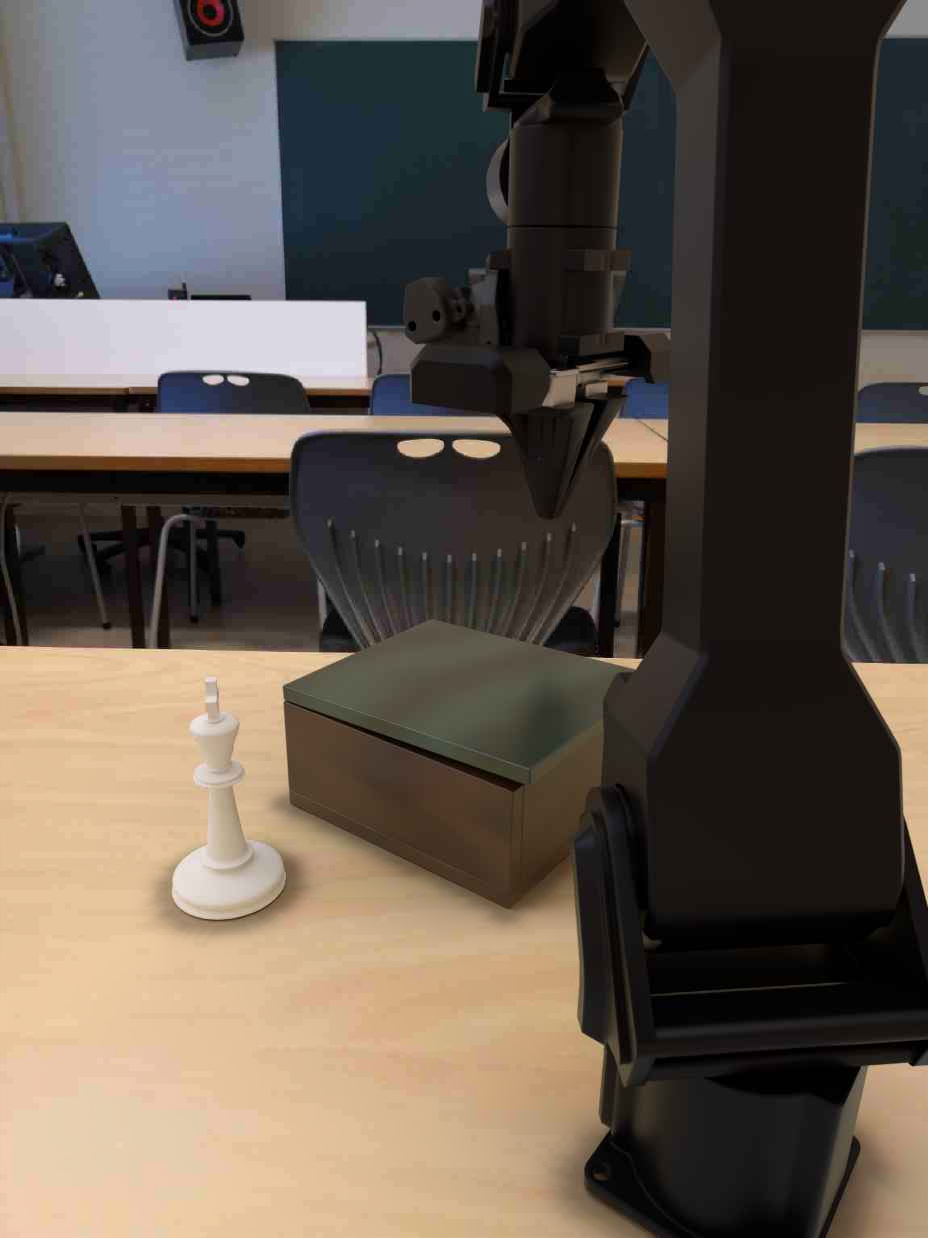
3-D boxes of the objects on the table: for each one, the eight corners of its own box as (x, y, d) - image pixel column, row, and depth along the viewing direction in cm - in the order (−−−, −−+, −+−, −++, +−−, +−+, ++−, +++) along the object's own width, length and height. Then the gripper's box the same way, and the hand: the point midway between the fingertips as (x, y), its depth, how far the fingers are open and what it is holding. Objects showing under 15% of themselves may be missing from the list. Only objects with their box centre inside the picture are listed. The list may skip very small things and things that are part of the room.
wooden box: (634, 795, 49) (643, 695, 47) (508, 909, 40) (513, 792, 38) (431, 721, 56) (431, 631, 54) (289, 803, 48) (282, 701, 46)
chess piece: (167, 927, 39) (139, 711, 35) (177, 857, 43) (153, 659, 40) (287, 913, 40) (272, 701, 36) (285, 846, 44) (271, 652, 41)
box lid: (658, 689, 46) (659, 674, 46) (530, 787, 37) (530, 769, 37) (431, 631, 54) (431, 618, 54) (282, 700, 46) (281, 685, 45)
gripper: (530, 234, 60) (522, 472, 66) (325, 224, 46) (336, 527, 52) (691, 233, 54) (666, 496, 60) (509, 221, 40) (500, 566, 46)
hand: (548, 517), depth 55 cm, fingers closed
